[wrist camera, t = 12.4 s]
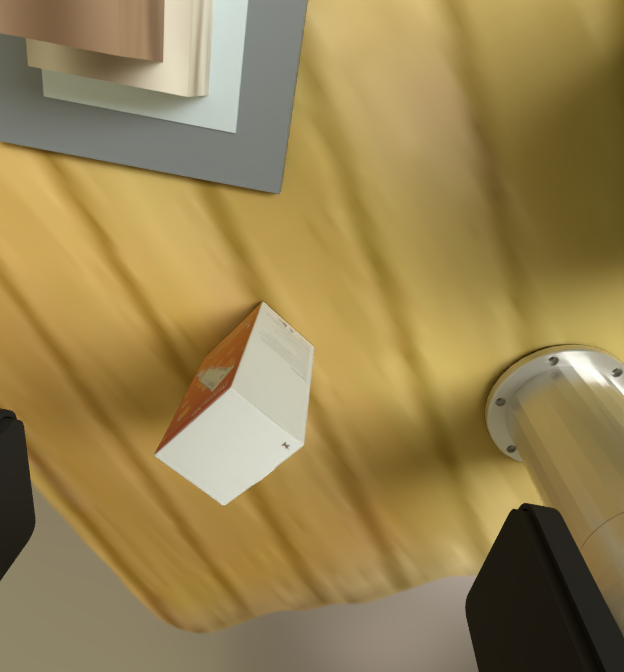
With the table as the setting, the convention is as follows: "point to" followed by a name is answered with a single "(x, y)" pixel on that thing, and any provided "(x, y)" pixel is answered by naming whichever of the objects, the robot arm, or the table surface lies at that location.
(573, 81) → the table surface
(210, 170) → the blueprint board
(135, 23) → the walnut cube
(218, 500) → the small box
